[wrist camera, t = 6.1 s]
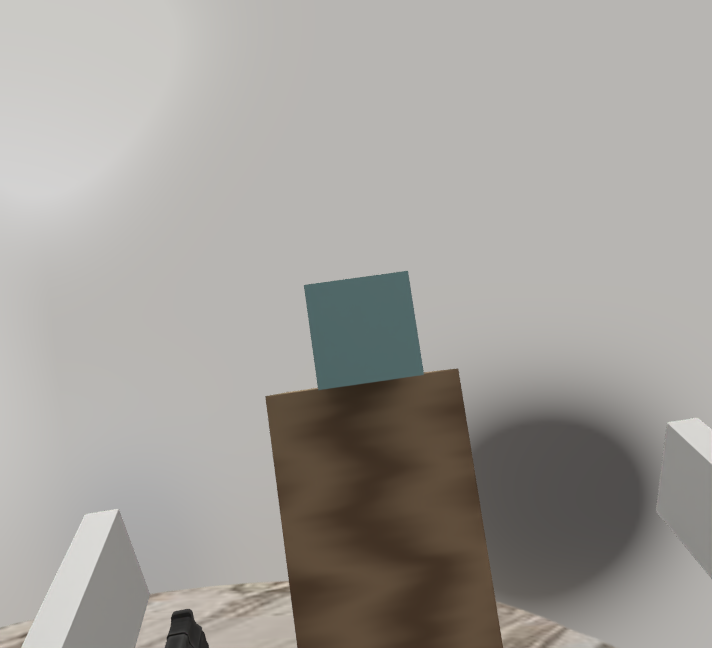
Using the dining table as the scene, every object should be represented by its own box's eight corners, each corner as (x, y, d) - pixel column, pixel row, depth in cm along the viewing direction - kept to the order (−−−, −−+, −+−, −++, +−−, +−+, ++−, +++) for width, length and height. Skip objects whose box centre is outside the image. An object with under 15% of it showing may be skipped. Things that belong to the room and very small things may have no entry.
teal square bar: (318, 389, 21) (304, 285, 22) (328, 386, 43) (321, 333, 44) (424, 374, 22) (408, 270, 22) (381, 378, 43) (373, 326, 44)
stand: (326, 1078, 25) (242, 399, 28) (330, 831, 39) (274, 393, 42) (590, 1026, 26) (481, 365, 29) (502, 800, 40) (435, 370, 43)
